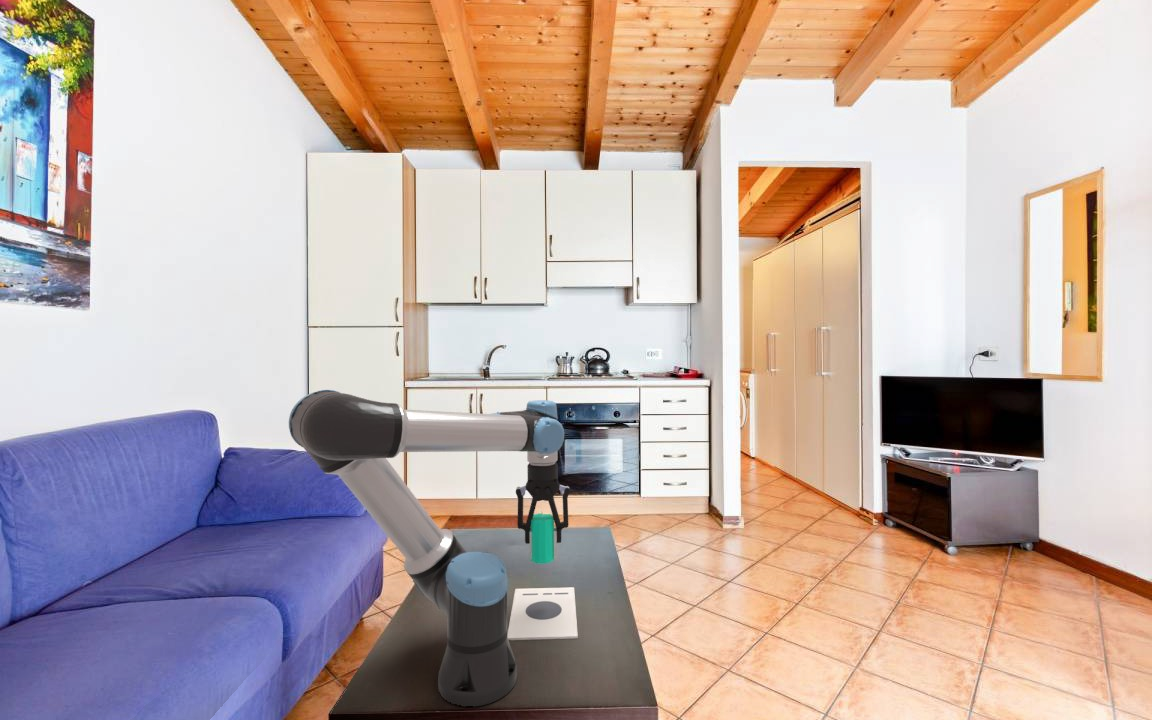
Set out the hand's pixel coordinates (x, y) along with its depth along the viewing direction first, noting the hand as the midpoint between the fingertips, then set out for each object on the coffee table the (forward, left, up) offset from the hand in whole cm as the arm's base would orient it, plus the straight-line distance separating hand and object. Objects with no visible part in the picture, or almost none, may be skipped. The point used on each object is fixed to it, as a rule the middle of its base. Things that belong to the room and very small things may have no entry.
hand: (543, 555), depth 125 cm
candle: (0, 0, -1) cm, 1 cm away
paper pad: (0, 0, -14) cm, 14 cm away
